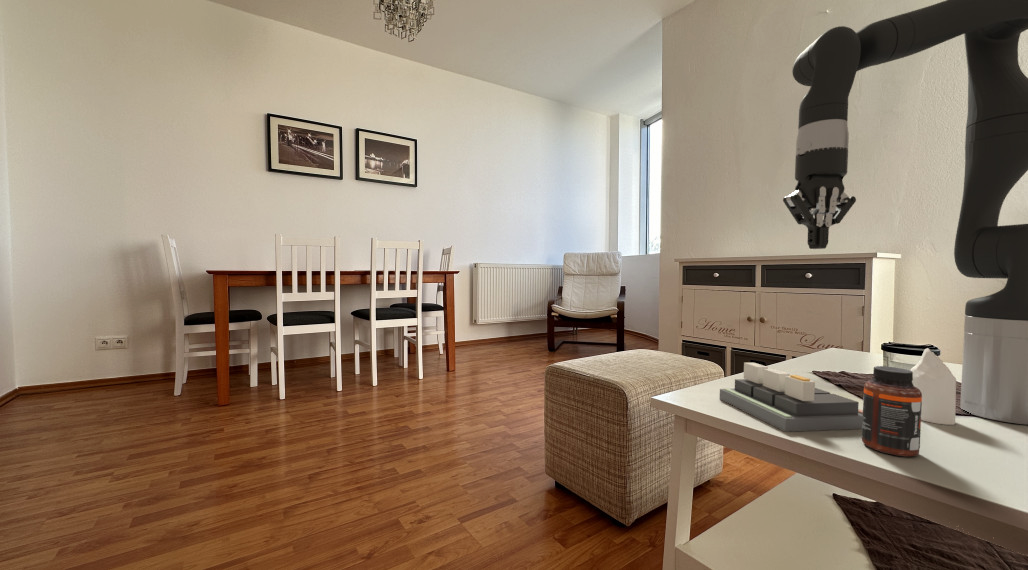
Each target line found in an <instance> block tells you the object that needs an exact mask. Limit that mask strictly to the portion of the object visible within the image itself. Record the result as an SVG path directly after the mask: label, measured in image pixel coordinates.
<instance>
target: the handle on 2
mask: <svg viewBox="0 0 1028 570" xmlns="http://www.w3.org/2000/svg"><path fill="white" fill-rule="evenodd" d="M790 375H791V374H790V373H789V372H785V371H782V370H779V369H775V368H768V369H763V386H765V387H768V388H770V389H773V390H776V391H778V392H782V391H785V376H790Z"/></svg>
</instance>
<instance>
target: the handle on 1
mask: <svg viewBox="0 0 1028 570" xmlns="http://www.w3.org/2000/svg"><path fill="white" fill-rule="evenodd" d="M763 369H769V366H765V365H763V364H761V363H760V364H759V363H756V362H743V379H747V380H749V381H752V382H755V383H763Z"/></svg>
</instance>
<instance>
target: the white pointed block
mask: <svg viewBox="0 0 1028 570" xmlns="http://www.w3.org/2000/svg"><path fill="white" fill-rule="evenodd" d="M909 370H910V371H912V372H913V380H912V383H913V386H914V387H917V388H918V389H919V390H920V391H921V393H922V408H921V421H923V422H927V423H931V424H936V425H937V424H938V425H944V426H945V425H947V426H953V425H956V408H957V407H956V402H957V401H956V400H957V399H956V397H957V379H956V377H955V375H954V374H953V372H952V371H951V370H950V368H949V367H948V366H947V364H946V363H944V361H943V360H942V359H941V358H940V357H939V356H937V355H936V354H935V353H934V351H931V350H930V348H928V347H927V348H925V349H924V350H923V353H922V355H921V358H920V359H919V361H918V362H917V363H916V365H914V366H913V367H911V368H910V369H909Z"/></svg>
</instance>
